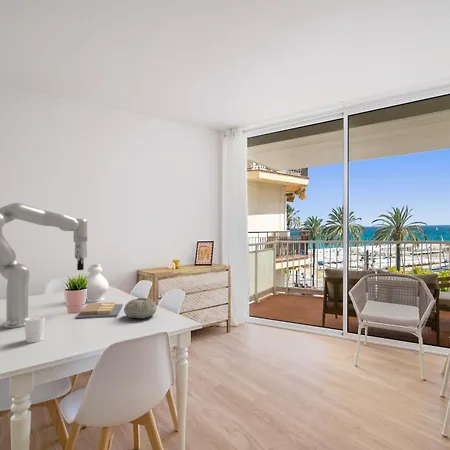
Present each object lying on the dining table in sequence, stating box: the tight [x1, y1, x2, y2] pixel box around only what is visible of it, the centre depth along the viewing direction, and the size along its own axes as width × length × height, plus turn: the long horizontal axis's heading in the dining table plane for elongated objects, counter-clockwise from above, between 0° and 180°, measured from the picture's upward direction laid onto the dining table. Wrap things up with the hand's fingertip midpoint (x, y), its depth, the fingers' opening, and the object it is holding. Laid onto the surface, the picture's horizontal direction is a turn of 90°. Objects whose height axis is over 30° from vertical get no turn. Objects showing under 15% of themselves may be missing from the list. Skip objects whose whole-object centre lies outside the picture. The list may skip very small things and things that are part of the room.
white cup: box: [24, 315, 46, 344], centre depth 143 cm, size 8×8×10 cm
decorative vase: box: [86, 262, 110, 303], centre depth 223 cm, size 18×18×25 cm
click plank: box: [97, 301, 117, 314], centre depth 192 cm, size 20×8×2 cm, turn 11°
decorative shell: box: [123, 297, 157, 319], centre depth 180 cm, size 18×18×10 cm
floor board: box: [75, 302, 123, 320], centre depth 191 cm, size 26×22×3 cm
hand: (80, 269), depth 191 cm, fingers closed
